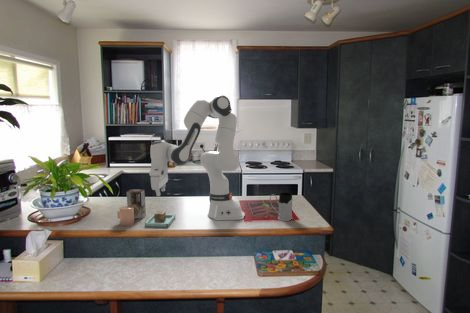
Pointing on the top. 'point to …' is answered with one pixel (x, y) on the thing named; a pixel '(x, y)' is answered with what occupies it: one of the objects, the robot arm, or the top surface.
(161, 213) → the walnut block
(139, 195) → the coffee box
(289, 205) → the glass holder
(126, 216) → the tan ball with tab
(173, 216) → the tray
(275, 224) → the top surface
